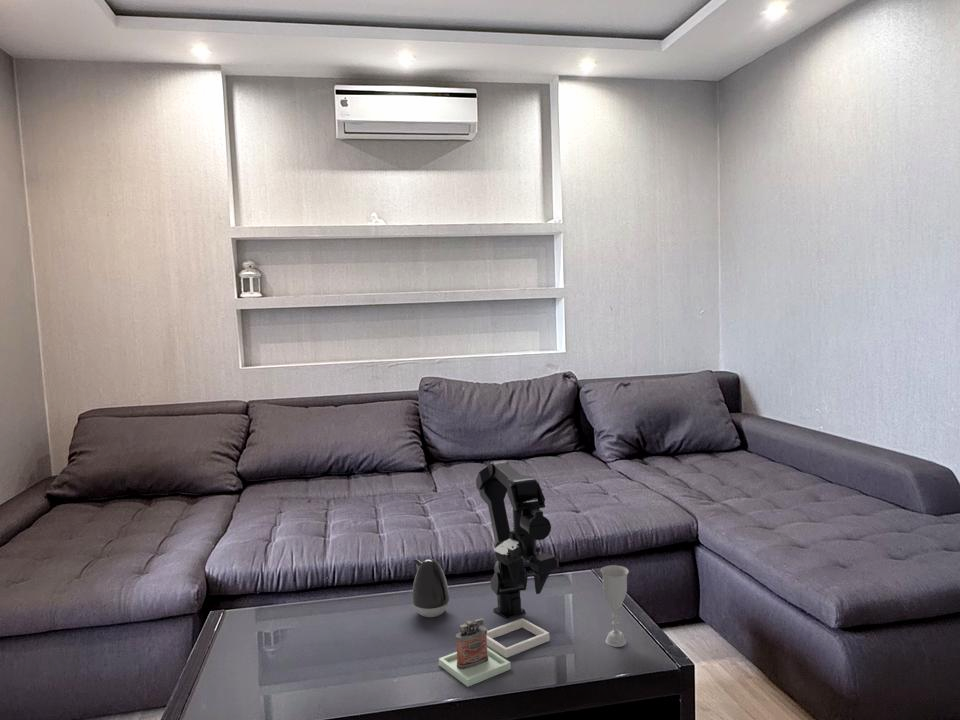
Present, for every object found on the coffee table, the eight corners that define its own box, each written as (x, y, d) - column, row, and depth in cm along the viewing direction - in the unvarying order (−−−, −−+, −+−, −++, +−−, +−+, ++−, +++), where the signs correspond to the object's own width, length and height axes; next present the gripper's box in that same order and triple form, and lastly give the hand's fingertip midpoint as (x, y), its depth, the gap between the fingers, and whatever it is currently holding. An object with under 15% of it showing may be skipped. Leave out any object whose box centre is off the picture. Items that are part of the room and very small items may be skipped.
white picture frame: (480, 641, 176) (480, 633, 176) (522, 625, 184) (522, 618, 184) (506, 658, 168) (505, 649, 167) (549, 640, 175) (549, 632, 175)
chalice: (630, 650, 169) (628, 577, 168) (601, 648, 171) (599, 576, 169) (629, 635, 177) (628, 565, 175) (602, 634, 178) (600, 564, 176)
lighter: (461, 671, 161) (459, 629, 160) (454, 665, 164) (452, 623, 163) (491, 660, 165) (489, 619, 165) (483, 655, 168) (482, 614, 167)
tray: (438, 665, 165) (438, 658, 165) (480, 649, 172) (480, 642, 172) (467, 686, 156) (467, 679, 156) (510, 669, 163) (510, 662, 162)
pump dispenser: (428, 602, 200) (426, 550, 199) (457, 610, 194) (455, 556, 193) (404, 615, 192) (401, 561, 191) (433, 625, 186) (431, 569, 185)
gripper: (477, 525, 180) (479, 584, 181) (522, 544, 165) (524, 609, 166) (511, 516, 187) (513, 574, 188) (558, 534, 171) (560, 596, 173)
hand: (526, 587), depth 178 cm, fingers open, 9 cm apart
